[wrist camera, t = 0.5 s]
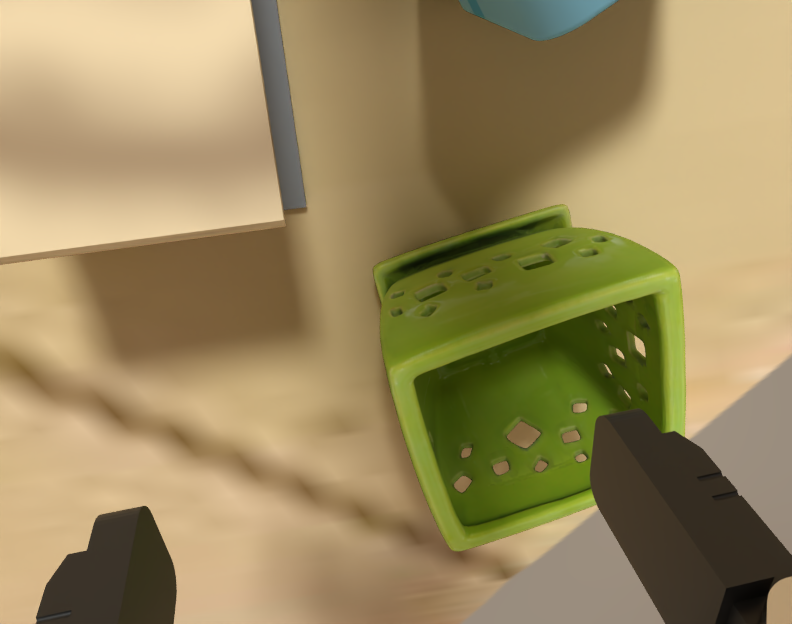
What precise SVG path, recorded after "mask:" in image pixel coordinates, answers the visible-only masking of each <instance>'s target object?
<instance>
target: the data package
mask: <svg viewBox="0 0 792 624" xmlns="http://www.w3.org/2000/svg"><path fill="white" fill-rule="evenodd" d="M617 1H618V0H459V2H460V4H461V6H462V8H463V9H464V10H465V11H467V12H469V13H472V14H474V15H476V16H479V17H481V18H483V19H486V20H488V21H490V22H493V23H495V24H497V25H500V26H502V27H504V28H506V29H509V30H511V31H513V32H516V33H518V34H520V35H523V36H525V37H527V38H530V39H532V40H536V41H544V40H549V39H553V38H556V37H559V36H562V35H564V34H566V33H569V32H571V31H573V30H575V29H577V28H578V27H580V26H582V25H583V24H585V23H587V22H588V21H590V20H591V19H593V18H594V17H595V16H597V15H598V14H600V13H601V12H603V11H604V10H605V9H607V8H608V7H610V6H611V5H613V4H614V3H616V2H617Z"/></svg>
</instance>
